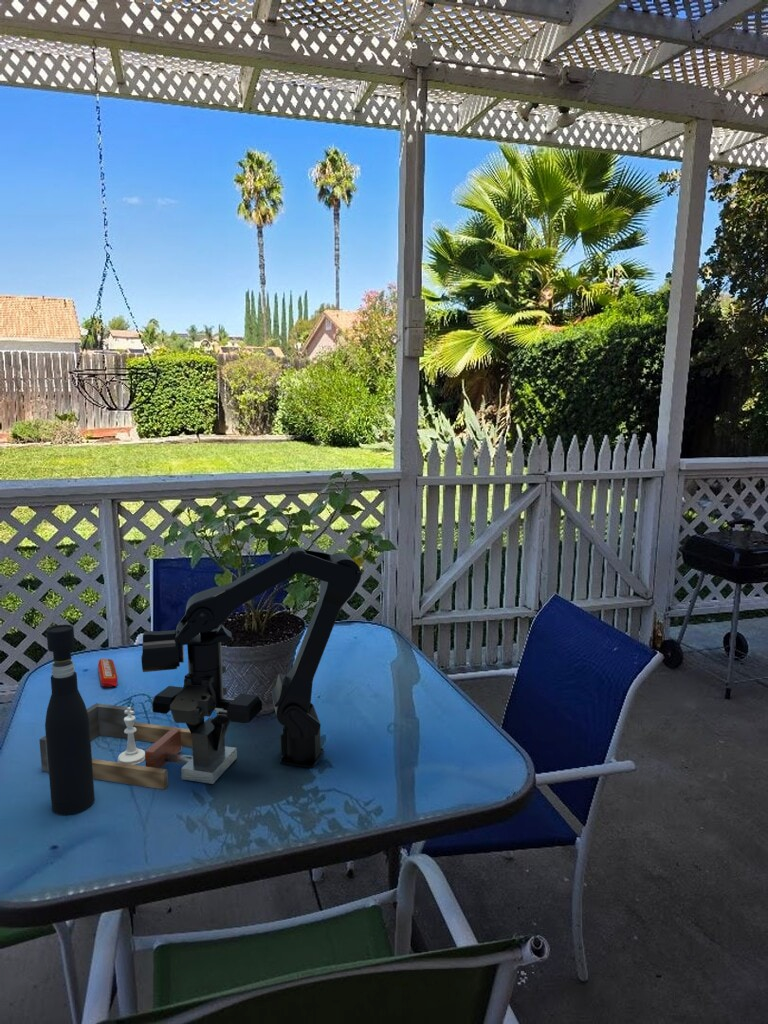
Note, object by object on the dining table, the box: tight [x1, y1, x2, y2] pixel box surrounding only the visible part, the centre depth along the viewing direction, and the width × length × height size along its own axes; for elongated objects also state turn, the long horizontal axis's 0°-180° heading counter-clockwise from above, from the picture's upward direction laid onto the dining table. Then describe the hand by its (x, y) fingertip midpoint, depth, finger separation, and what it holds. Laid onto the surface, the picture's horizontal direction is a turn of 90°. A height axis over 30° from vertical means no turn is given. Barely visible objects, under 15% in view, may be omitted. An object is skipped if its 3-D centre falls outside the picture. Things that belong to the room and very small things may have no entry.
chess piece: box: [117, 706, 146, 765], centre depth 125 cm, size 5×5×10 cm
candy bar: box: [97, 658, 118, 688], centre depth 164 cm, size 16×4×3 cm, turn 26°
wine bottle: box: [44, 624, 96, 816], centre depth 109 cm, size 6×6×30 cm
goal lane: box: [38, 703, 192, 790], centre depth 125 cm, size 25×15×6 cm, turn 76°
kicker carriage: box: [144, 717, 238, 785], centre depth 122 cm, size 13×9×8 cm
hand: (209, 748), depth 121 cm, fingers closed on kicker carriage, 3 cm apart
